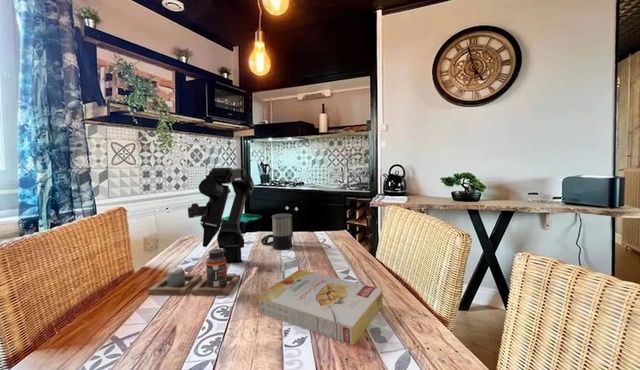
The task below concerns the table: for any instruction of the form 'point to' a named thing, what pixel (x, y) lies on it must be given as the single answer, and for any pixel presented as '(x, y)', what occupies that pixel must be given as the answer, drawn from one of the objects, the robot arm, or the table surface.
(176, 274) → the seated grey knob
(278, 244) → the milk frother
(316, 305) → the cereal box
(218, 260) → the supplement bottle
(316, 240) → the table surface
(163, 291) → the walnut twin holder
